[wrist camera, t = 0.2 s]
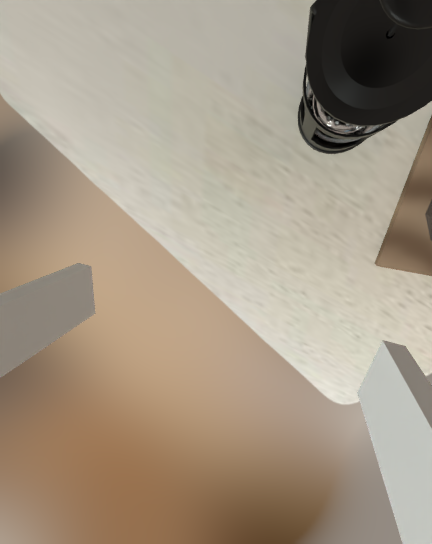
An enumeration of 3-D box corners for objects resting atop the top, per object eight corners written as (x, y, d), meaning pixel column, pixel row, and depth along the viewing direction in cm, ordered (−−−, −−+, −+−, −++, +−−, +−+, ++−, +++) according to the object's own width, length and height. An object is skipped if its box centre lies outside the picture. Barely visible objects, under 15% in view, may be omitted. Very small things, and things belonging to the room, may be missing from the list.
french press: (403, 120, 28) (720, -49, 7) (325, 174, 32) (384, 165, 11) (350, 25, 26) (556, -526, 6) (275, 94, 30) (239, -85, 10)
